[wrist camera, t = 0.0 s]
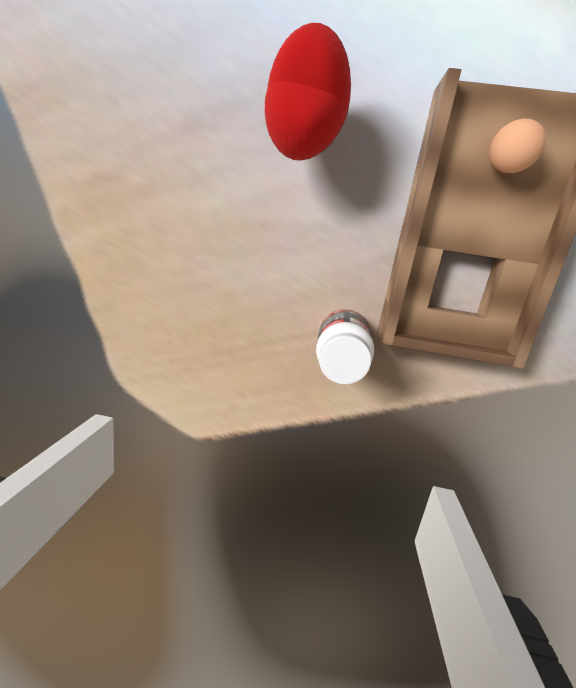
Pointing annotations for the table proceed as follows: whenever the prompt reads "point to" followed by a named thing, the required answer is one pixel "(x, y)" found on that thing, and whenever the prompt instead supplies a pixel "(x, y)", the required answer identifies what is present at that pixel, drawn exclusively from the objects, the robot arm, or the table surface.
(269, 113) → the red heart-shaped lump
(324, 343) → the pill bottle
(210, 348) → the table surface
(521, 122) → the ball
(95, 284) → the table surface
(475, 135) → the lane
